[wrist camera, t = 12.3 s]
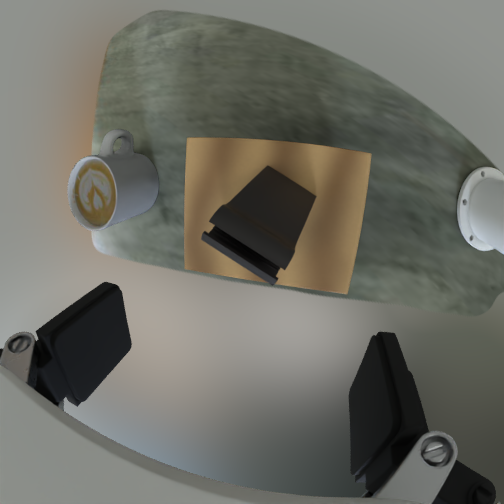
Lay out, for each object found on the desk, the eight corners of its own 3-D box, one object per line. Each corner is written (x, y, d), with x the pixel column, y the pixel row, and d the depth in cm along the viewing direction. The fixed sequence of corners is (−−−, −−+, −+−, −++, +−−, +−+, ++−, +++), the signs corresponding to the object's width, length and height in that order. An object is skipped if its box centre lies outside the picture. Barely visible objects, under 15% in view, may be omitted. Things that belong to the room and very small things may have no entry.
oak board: (369, 153, 26) (371, 153, 25) (346, 290, 31) (347, 294, 30) (190, 137, 29) (186, 137, 28) (187, 266, 34) (184, 269, 34)
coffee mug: (147, 225, 41) (107, 244, 31) (104, 199, 41) (62, 212, 32) (176, 144, 36) (136, 143, 26) (127, 124, 36) (83, 121, 27)
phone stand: (268, 164, 27) (238, 168, 16) (317, 196, 27) (321, 220, 16) (226, 233, 31) (179, 276, 20) (271, 262, 31) (247, 321, 20)
